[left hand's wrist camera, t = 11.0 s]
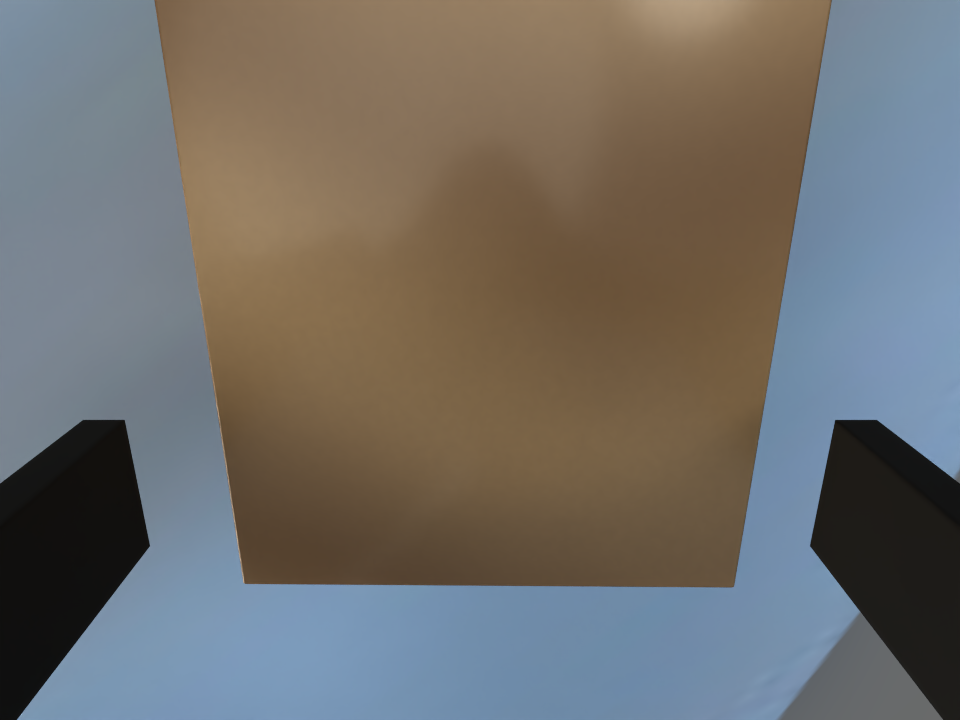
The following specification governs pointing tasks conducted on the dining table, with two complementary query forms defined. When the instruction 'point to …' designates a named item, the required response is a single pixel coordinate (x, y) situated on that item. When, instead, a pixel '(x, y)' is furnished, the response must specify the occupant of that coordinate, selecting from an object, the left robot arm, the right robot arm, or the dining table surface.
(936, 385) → the dining table surface
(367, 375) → the wooden drawer box
